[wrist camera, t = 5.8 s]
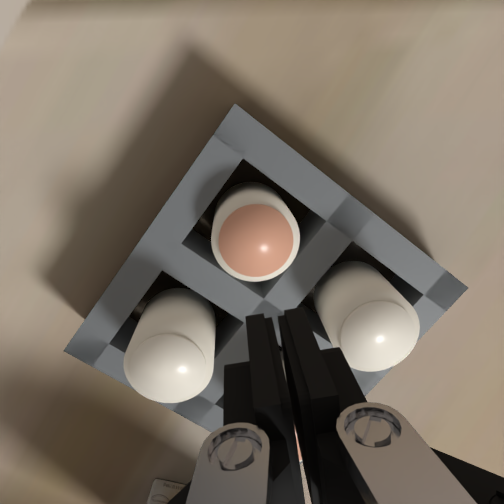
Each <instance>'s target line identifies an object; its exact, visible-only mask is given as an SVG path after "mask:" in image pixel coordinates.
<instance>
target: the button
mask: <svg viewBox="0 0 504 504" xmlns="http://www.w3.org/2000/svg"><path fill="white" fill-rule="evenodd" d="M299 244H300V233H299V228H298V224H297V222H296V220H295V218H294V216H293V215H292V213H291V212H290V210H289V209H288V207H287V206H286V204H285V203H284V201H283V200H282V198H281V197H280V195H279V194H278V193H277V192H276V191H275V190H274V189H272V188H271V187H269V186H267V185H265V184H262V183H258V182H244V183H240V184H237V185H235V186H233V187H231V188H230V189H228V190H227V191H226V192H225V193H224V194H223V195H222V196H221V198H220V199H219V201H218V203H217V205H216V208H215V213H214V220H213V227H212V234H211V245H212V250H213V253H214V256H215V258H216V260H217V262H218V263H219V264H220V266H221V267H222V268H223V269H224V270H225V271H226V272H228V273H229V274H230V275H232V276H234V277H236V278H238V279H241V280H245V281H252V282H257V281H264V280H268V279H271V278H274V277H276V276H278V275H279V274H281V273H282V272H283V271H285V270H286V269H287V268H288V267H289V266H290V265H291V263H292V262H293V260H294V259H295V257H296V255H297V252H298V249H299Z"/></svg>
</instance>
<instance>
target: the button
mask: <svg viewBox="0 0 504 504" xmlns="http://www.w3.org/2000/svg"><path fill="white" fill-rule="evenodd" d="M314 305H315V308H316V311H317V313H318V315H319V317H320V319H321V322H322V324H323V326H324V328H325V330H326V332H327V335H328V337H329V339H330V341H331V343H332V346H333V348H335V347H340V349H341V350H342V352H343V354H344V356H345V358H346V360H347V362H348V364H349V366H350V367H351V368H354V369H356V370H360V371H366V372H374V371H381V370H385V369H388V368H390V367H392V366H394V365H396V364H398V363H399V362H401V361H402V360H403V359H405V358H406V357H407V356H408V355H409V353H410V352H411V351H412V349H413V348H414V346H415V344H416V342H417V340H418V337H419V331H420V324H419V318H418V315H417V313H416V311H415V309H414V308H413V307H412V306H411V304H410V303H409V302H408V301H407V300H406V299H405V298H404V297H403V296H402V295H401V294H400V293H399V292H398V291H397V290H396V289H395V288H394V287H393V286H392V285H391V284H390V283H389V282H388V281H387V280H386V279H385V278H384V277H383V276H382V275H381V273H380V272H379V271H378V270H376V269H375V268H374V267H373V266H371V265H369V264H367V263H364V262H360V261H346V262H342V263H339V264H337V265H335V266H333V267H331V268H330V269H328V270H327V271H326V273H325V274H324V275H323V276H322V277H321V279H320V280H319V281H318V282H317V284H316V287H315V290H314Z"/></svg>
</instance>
